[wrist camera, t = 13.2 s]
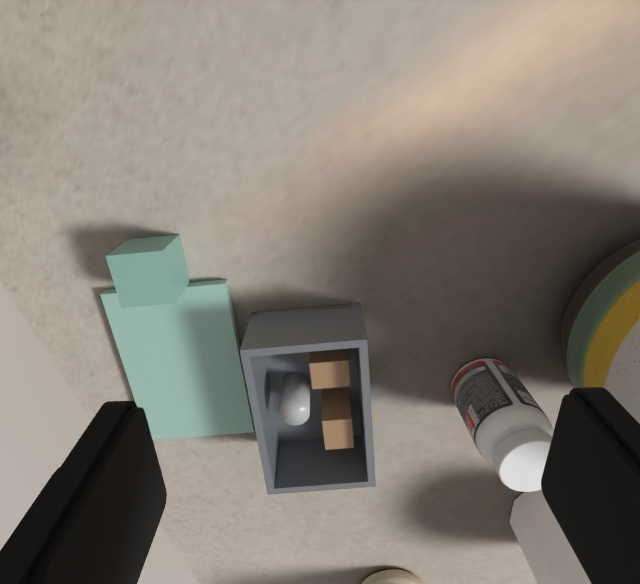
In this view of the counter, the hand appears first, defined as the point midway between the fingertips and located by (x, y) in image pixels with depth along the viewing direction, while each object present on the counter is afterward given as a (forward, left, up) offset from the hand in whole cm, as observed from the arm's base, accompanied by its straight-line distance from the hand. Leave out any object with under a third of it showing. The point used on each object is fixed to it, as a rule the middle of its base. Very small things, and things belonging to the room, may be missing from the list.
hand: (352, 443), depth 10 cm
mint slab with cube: (+10, -14, -25) cm, 30 cm away
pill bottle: (+17, +12, -25) cm, 33 cm away
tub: (+15, -3, -25) cm, 29 cm away
